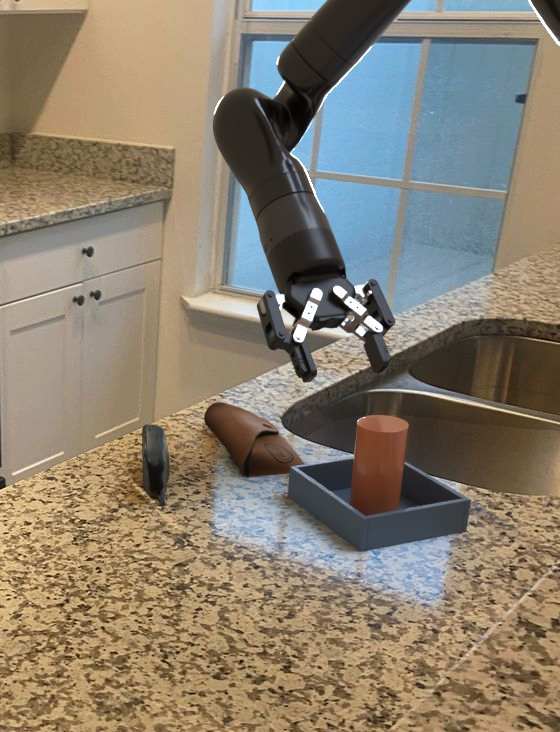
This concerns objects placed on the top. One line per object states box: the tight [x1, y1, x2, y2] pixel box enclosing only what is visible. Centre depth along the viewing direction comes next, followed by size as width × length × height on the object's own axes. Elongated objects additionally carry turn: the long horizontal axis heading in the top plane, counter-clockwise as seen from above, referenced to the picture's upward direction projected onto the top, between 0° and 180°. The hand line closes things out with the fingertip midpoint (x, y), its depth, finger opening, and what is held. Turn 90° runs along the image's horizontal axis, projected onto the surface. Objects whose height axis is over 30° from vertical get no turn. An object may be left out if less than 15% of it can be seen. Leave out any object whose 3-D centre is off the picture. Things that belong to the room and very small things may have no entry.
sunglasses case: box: [203, 401, 305, 479], centre depth 125 cm, size 18×7×7 cm
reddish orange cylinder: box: [349, 414, 410, 516], centre depth 105 cm, size 5×5×10 cm
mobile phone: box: [141, 423, 170, 507], centre depth 117 cm, size 5×3×15 cm
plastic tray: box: [287, 455, 472, 553], centre depth 107 cm, size 12×14×4 cm
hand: (347, 374), depth 108 cm, fingers open, 8 cm apart
